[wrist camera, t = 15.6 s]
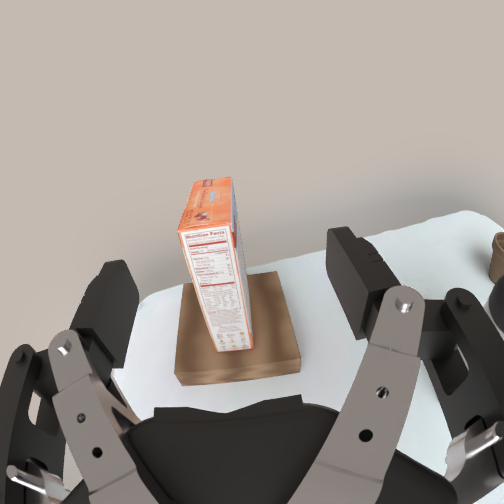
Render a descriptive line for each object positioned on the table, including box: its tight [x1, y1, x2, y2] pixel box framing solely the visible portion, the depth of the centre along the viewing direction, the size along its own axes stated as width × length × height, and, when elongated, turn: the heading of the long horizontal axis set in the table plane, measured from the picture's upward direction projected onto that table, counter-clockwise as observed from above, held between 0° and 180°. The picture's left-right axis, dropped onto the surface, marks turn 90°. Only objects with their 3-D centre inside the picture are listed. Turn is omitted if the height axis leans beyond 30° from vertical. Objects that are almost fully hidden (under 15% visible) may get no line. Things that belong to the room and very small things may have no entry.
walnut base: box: [174, 271, 301, 386], centre depth 45 cm, size 18×20×4 cm
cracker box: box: [178, 177, 254, 352], centre depth 38 cm, size 14×6×21 cm, turn 4°
